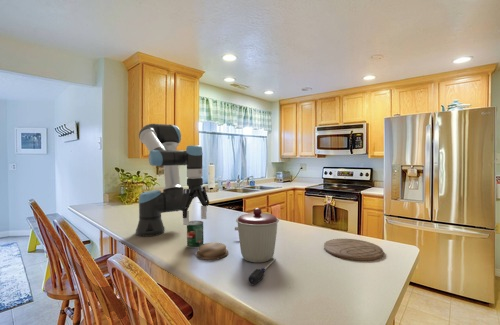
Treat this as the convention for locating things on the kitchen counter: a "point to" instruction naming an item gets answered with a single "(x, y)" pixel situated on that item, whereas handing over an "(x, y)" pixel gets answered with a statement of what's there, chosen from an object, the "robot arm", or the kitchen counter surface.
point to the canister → (257, 235)
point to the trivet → (353, 249)
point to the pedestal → (212, 251)
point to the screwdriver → (258, 274)
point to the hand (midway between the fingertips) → (195, 221)
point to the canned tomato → (195, 234)
